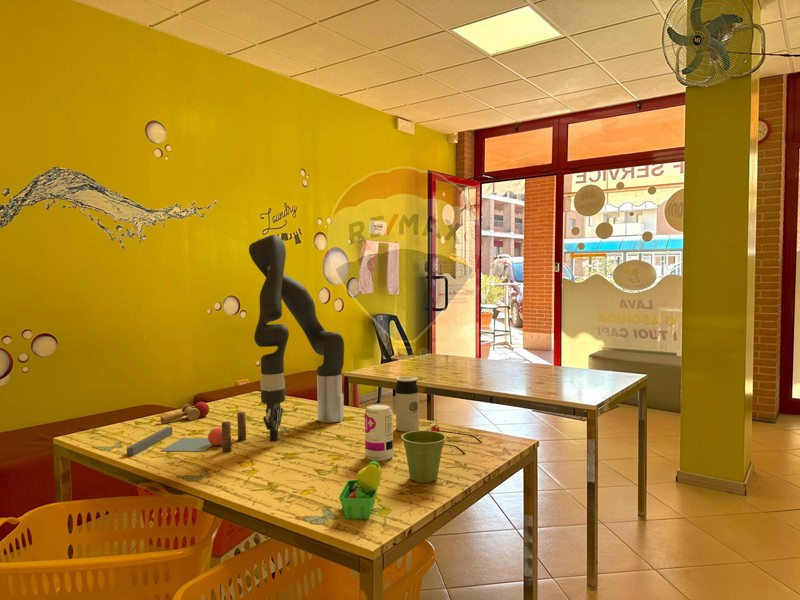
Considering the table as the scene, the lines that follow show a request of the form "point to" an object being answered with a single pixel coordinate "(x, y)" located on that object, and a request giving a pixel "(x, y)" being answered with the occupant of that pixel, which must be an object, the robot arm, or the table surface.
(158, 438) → the wall
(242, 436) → the gate post
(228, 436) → the gate post
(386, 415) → the supplement can
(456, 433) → the glasses
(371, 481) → the fruit basket
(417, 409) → the travel mug
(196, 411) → the kendama
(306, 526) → the table surface
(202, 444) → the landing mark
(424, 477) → the plant pot
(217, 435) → the ball
